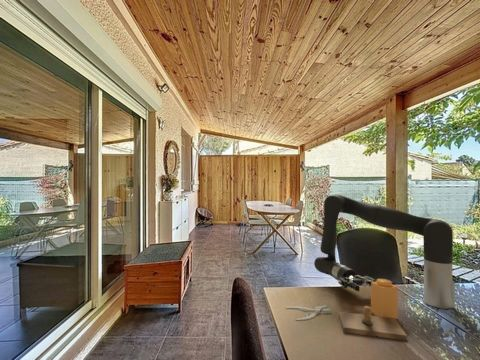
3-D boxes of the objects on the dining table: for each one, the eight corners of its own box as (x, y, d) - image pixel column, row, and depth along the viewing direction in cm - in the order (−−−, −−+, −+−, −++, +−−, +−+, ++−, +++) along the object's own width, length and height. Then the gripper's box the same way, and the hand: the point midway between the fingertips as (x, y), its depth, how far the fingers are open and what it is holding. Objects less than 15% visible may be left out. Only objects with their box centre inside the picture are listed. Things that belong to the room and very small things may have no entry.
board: (394, 322, 92) (394, 303, 92) (406, 340, 82) (407, 318, 82) (338, 315, 96) (339, 297, 96) (343, 332, 86) (343, 311, 86)
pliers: (285, 304, 102) (322, 301, 105) (285, 308, 102) (322, 306, 105) (296, 317, 92) (336, 313, 95) (296, 322, 92) (336, 318, 95)
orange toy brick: (384, 310, 101) (385, 277, 101) (397, 318, 95) (397, 283, 96) (370, 311, 100) (371, 278, 100) (382, 319, 94) (383, 284, 94)
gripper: (329, 267, 120) (352, 279, 104) (358, 265, 123) (384, 277, 107) (329, 284, 120) (352, 299, 104) (358, 282, 123) (384, 296, 107)
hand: (368, 288), depth 106 cm, fingers open, 8 cm apart
